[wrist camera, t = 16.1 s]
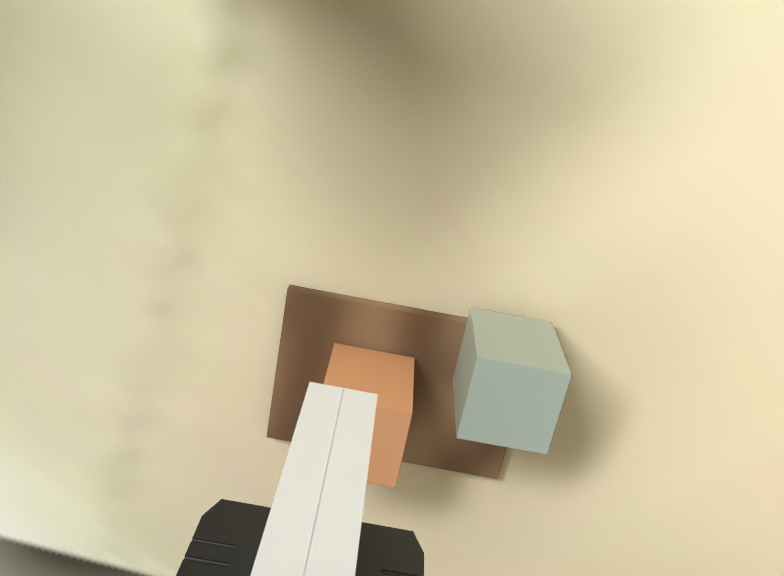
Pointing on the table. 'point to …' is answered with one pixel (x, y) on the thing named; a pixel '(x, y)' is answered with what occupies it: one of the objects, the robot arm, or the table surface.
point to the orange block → (379, 402)
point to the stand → (386, 334)
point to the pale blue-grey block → (509, 381)
